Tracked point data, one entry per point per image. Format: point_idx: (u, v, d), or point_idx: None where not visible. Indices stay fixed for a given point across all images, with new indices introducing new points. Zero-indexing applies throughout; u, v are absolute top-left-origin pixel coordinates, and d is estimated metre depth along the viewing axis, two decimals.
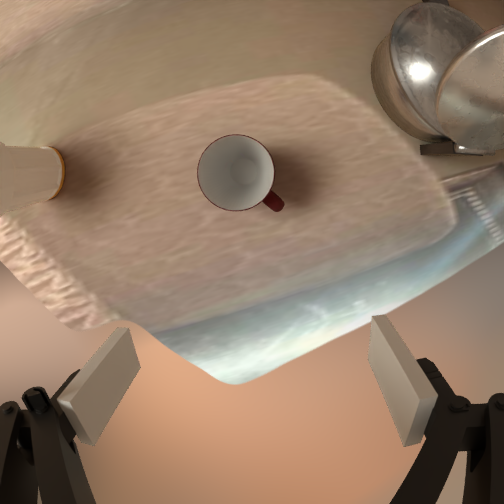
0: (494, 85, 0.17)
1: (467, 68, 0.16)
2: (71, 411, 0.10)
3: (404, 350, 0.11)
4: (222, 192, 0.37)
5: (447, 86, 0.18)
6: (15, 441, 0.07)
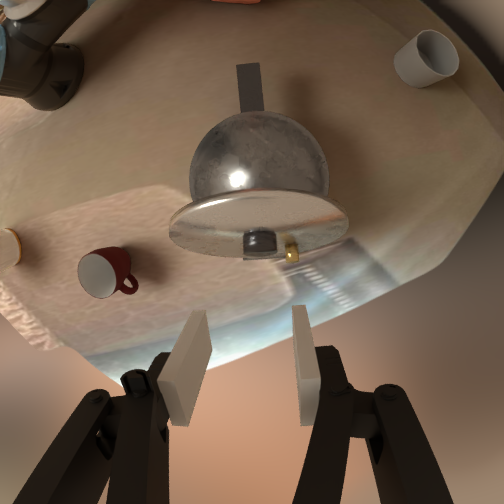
0: (216, 236, 0.33)
1: (177, 235, 0.32)
2: (172, 391, 0.11)
3: (307, 336, 0.14)
4: (102, 278, 0.53)
5: (176, 243, 0.34)
6: (94, 435, 0.09)
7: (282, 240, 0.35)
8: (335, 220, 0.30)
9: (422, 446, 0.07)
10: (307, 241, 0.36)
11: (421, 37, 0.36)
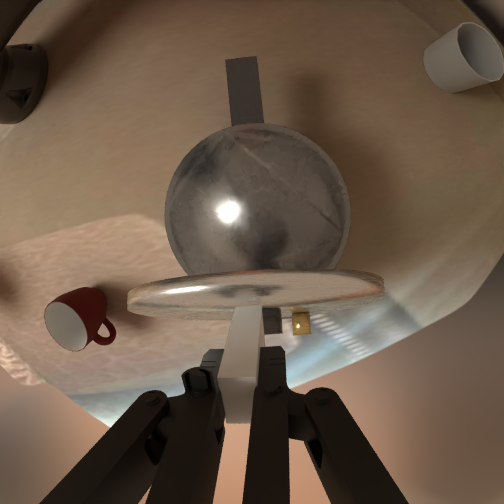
0: (195, 312, 0.22)
1: (141, 311, 0.22)
2: (232, 388, 0.11)
3: (254, 336, 0.14)
4: (75, 323, 0.43)
5: None
6: (144, 440, 0.09)
7: (289, 311, 0.25)
8: (367, 296, 0.19)
9: (363, 447, 0.07)
10: (322, 309, 0.26)
11: (458, 31, 0.26)
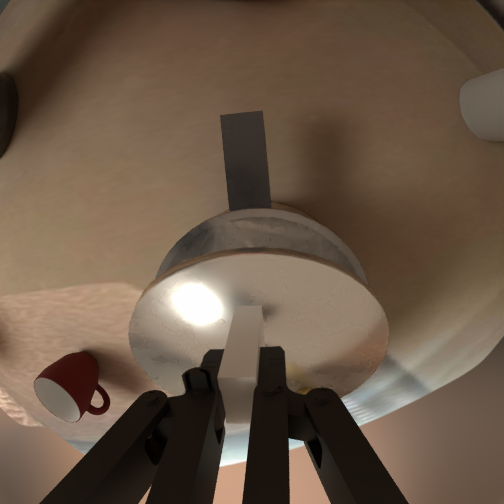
0: (195, 356, 0.21)
1: (140, 345, 0.21)
2: (233, 388, 0.11)
3: (254, 336, 0.14)
4: None
5: (140, 364, 0.22)
6: (144, 440, 0.09)
7: (292, 378, 0.22)
8: (370, 327, 0.19)
9: (363, 447, 0.07)
10: (328, 382, 0.23)
11: None
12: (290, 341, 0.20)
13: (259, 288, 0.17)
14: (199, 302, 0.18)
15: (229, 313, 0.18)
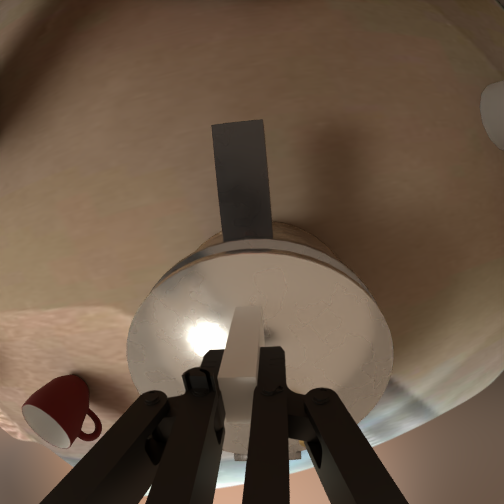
0: None
1: (138, 358, 0.20)
2: (232, 388, 0.11)
3: (254, 336, 0.14)
4: None
5: (135, 382, 0.21)
6: (144, 440, 0.09)
7: None
8: (372, 338, 0.18)
9: (363, 447, 0.07)
10: None
11: None
12: (291, 355, 0.19)
13: (260, 288, 0.18)
14: (200, 304, 0.18)
15: (230, 318, 0.18)
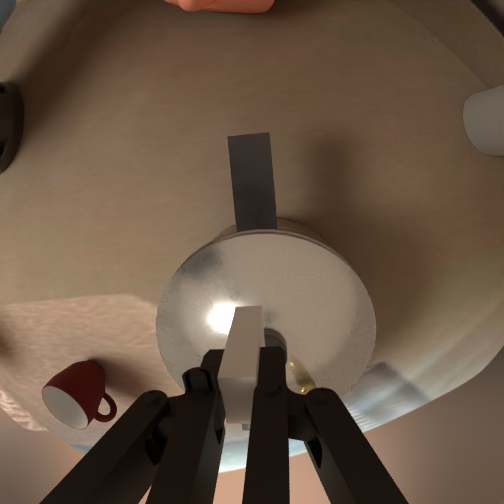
0: (211, 336, 0.25)
1: (165, 324, 0.25)
2: (232, 388, 0.11)
3: (254, 336, 0.14)
4: None
5: (160, 348, 0.26)
6: (144, 440, 0.09)
7: (295, 366, 0.26)
8: (357, 305, 0.24)
9: (363, 447, 0.07)
10: (327, 374, 0.26)
11: None
12: (291, 318, 0.24)
13: (267, 261, 0.23)
14: (221, 274, 0.24)
15: (243, 286, 0.24)
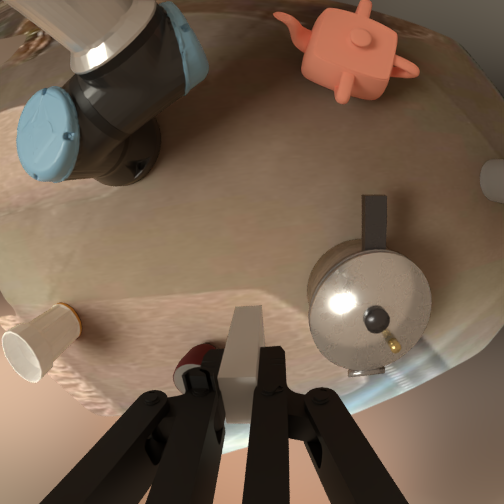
0: (346, 311, 0.42)
1: (319, 305, 0.42)
2: (232, 388, 0.11)
3: (254, 336, 0.14)
4: None
5: (311, 321, 0.43)
6: (144, 440, 0.09)
7: (388, 329, 0.42)
8: (423, 292, 0.40)
9: (363, 447, 0.07)
10: (404, 333, 0.42)
11: None
12: (391, 299, 0.41)
13: (383, 267, 0.40)
14: (358, 274, 0.40)
15: (369, 281, 0.40)
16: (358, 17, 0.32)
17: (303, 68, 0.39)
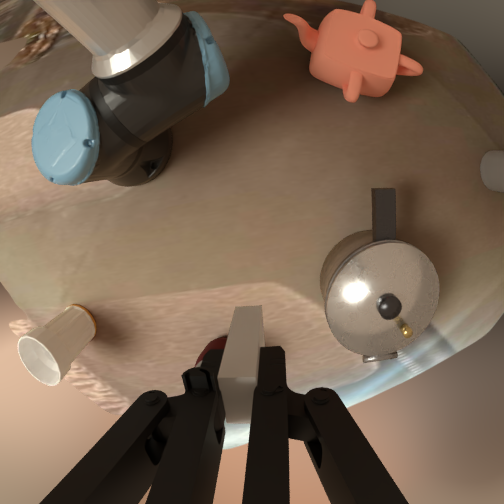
0: (360, 300, 0.44)
1: (335, 295, 0.44)
2: (232, 388, 0.11)
3: (254, 336, 0.14)
4: None
5: (328, 310, 0.44)
6: (144, 440, 0.09)
7: (399, 315, 0.44)
8: (431, 279, 0.42)
9: (363, 447, 0.07)
10: (415, 319, 0.44)
11: None
12: (402, 287, 0.43)
13: (394, 256, 0.42)
14: (371, 264, 0.42)
15: (381, 270, 0.42)
16: (364, 18, 0.32)
17: (312, 67, 0.40)
